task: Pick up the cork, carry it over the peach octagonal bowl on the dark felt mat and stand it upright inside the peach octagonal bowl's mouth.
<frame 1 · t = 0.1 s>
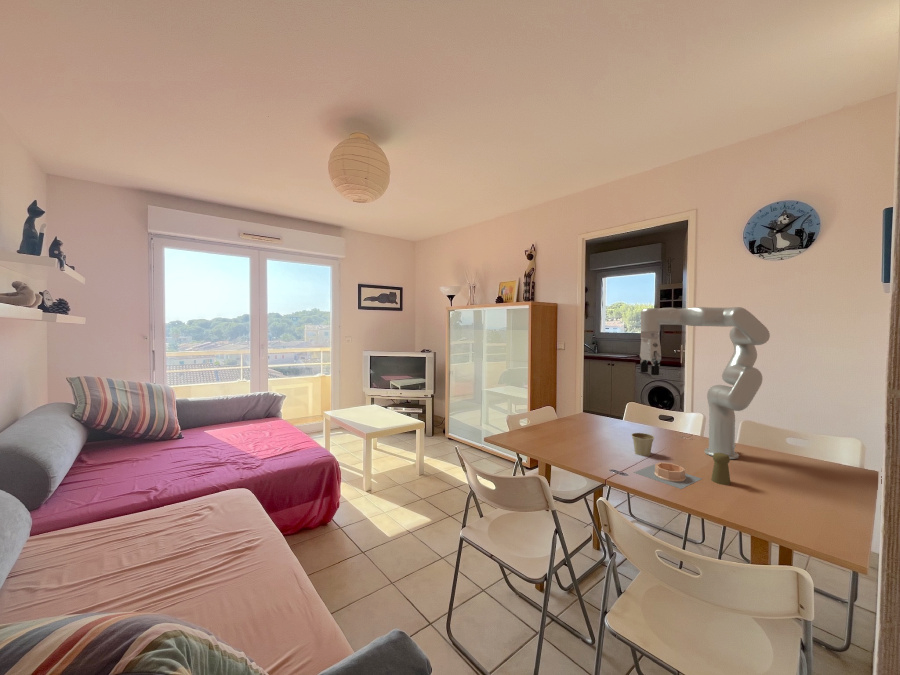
hand: (649, 373, 169), 37 cm above the table, tool pointing down, fingers open, 9 cm apart
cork: (720, 483, 140), on the table
peach octagonal bowl: (669, 476, 145), resting on felt mat
flower pot: (642, 454, 171), on the table
felt mat: (667, 476, 146), on the table
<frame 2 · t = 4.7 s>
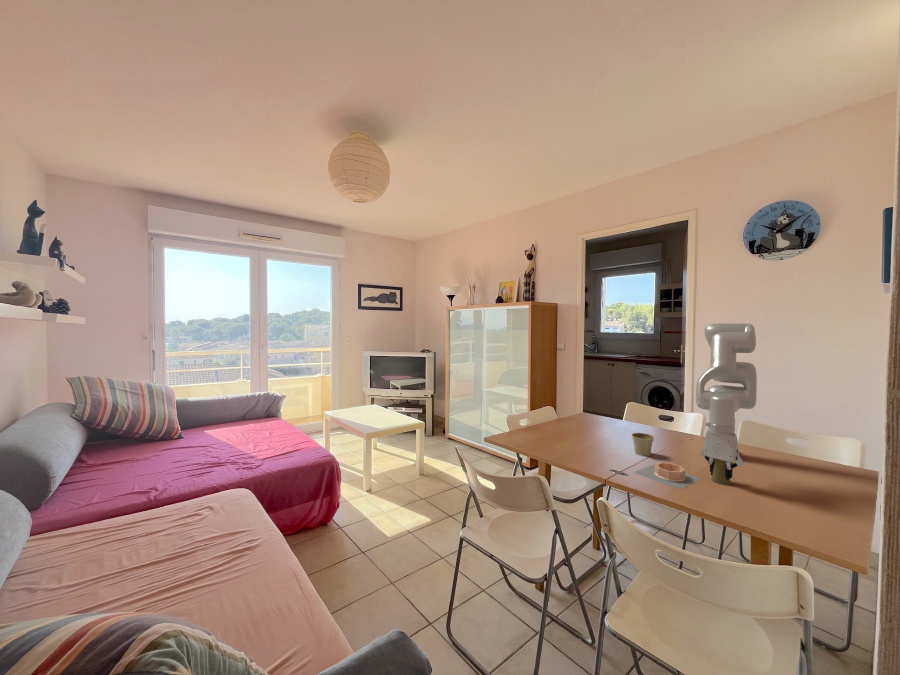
hand: (720, 476, 140), 2 cm above the table, tool pointing down, fingers closed on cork, 4 cm apart
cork: (720, 482, 140), on the table, touching gripper
everything else where it was.
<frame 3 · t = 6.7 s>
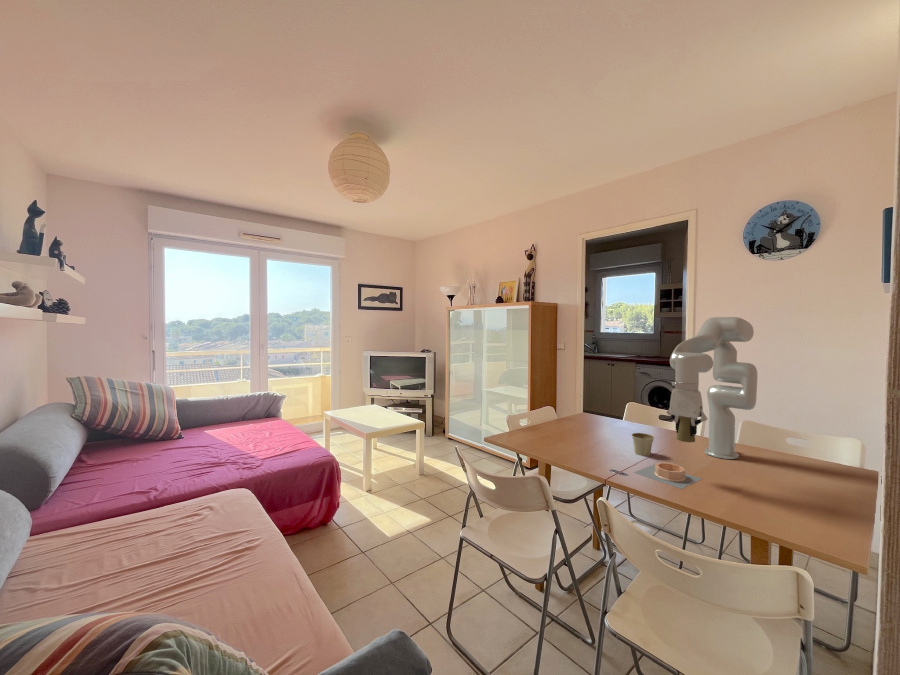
hand: (685, 433, 143), 18 cm above the table, tool pointing down, fingers closed on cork, 4 cm apart
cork: (685, 440, 143), point 15 cm above the table, touching gripper
everything else where it was.
when the fingers open (5 cm above the table, at t = 9.1 s): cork stays where it is, resting on peach octagonal bowl.
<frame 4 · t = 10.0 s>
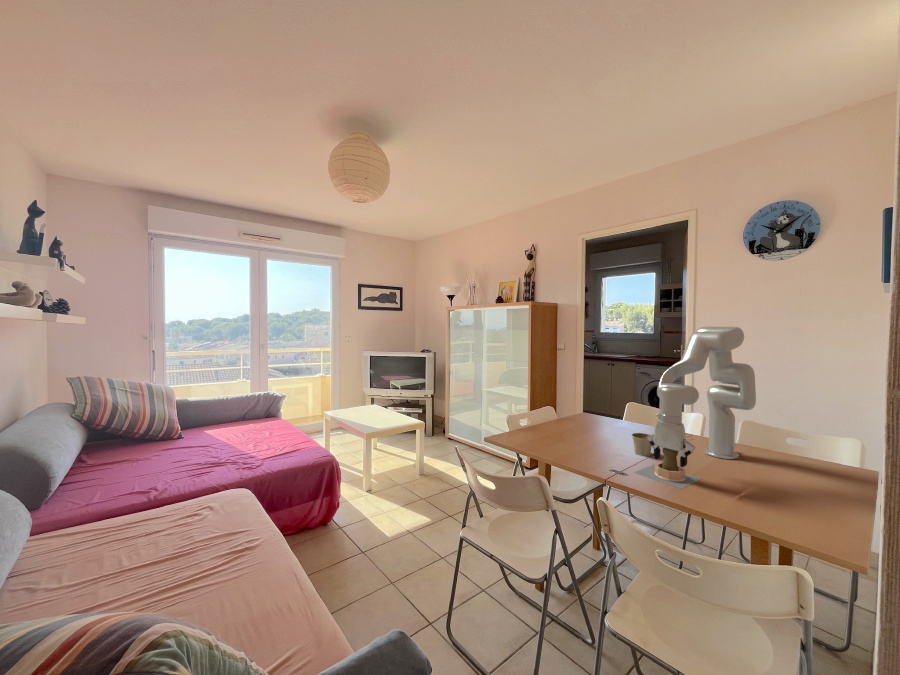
hand: (669, 462, 145), 6 cm above the table, tool pointing down, fingers open, 9 cm apart
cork: (669, 475, 145), point 1 cm above the table, touching peach octagonal bowl
everything else where it was.
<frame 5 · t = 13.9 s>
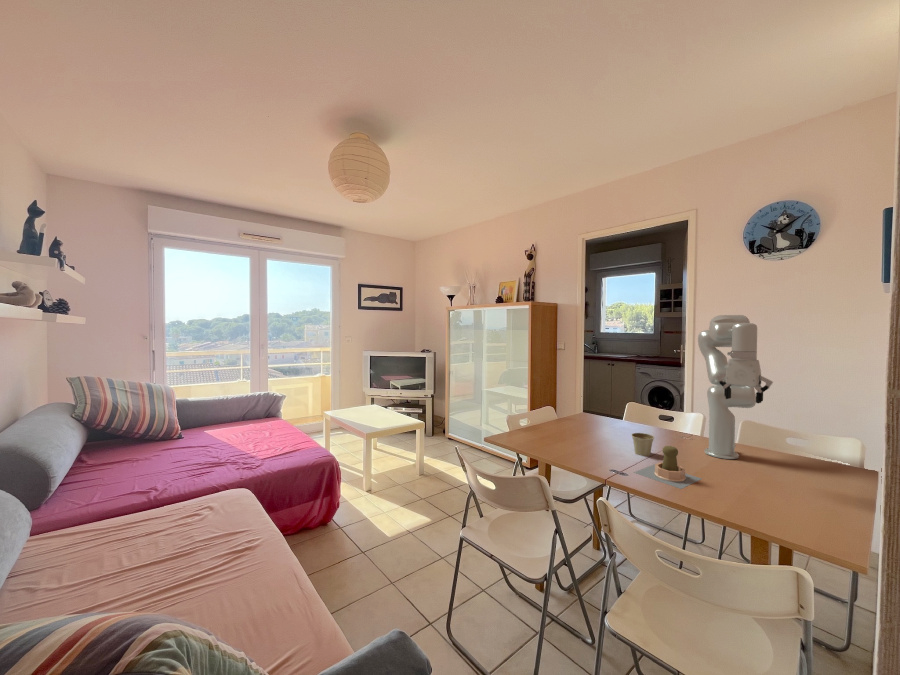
hand: (743, 400, 142), 30 cm above the table, tool pointing down, fingers open, 9 cm apart
nothing on the table moved.
at the end: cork 0.1 cm off-centre on the peach octagonal bowl, point 0.4 cm above the peach octagonal bowl's base; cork tilted 0°; the gripper is holding nothing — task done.
